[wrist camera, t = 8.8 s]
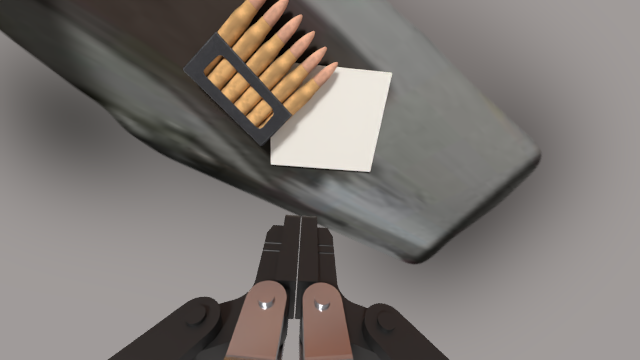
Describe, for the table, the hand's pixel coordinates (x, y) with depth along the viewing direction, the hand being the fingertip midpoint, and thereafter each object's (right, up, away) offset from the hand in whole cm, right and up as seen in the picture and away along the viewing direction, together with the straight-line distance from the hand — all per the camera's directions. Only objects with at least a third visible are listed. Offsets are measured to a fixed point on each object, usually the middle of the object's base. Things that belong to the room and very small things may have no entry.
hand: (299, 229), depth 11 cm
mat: (+2, +9, +17) cm, 19 cm away
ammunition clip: (-9, +10, +15) cm, 20 cm away
